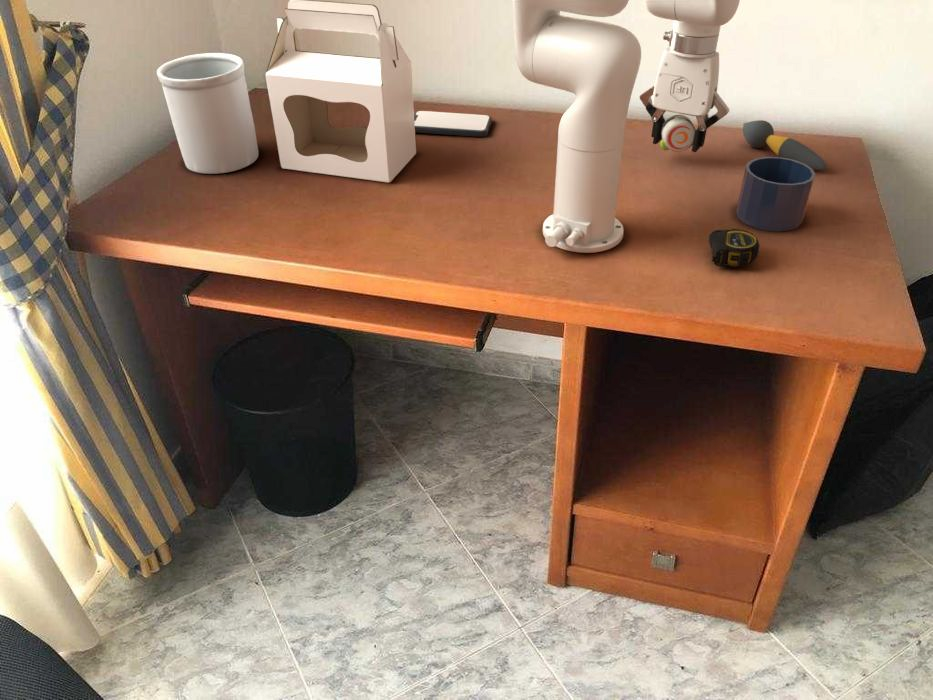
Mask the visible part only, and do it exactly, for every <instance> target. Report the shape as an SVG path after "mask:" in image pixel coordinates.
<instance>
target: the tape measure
mask: <svg viewBox="0 0 933 700" xmlns="http://www.w3.org/2000/svg"><path fill="white" fill-rule="evenodd" d="M708 243H709V247H710V249H711V258H712V259H711V262H712V263H713V265H715V266H716V267H724V266H729V267H733V268H741V267H746V266H749V265H751V264H753V263H754V262H755V261H756V259H758V255H759V252H760V242H759V240H758V238H757V237H756V235H755V234H753V233H752V232H749V231H747V230H744V229H738V228H730V229H729V228H728V229H719V230H713V231H711V232H710V234H709V236H708Z"/></svg>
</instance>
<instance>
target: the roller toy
mask: <svg viewBox="0 0 933 700" xmlns="http://www.w3.org/2000/svg"><path fill="white" fill-rule="evenodd" d="M696 130H697V128H696V127H695V126H694V123H693V122H692V120H691V118H689V117H688V116H687V115H684V114H674V115H671V116H670V117H668V118H666V119H665V122H664V123H663V125H662V128H661V136H662V140H660V142H659V146H660V148H661V150H663V151H669V150H670V151H671V152H675V153H680V152H685V151H687V150H688V149H690V148H692V146H693V140H694V135H695V131H696Z"/></svg>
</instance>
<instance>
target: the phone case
mask: <svg viewBox="0 0 933 700" xmlns="http://www.w3.org/2000/svg"><path fill="white" fill-rule="evenodd" d="M492 118H493V117H492V116H491V115H488V114H477V113H476V114H475V113H461V112H449V111H448V112H445V111H431V110H417V111H414V123H415V134H417V133H418V134H432V135H444V136H445V135H447V136H459V137H475V138H484V137H487V136H488V135H489V134H488V133H489V132H490V128H491V125H492V120H493V119H492Z"/></svg>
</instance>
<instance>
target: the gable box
mask: <svg viewBox="0 0 933 700" xmlns="http://www.w3.org/2000/svg"><path fill="white" fill-rule="evenodd" d="M284 11H285V14H286V16H285V18H284V17H276V24H277V36H276V39H275V42H274V45H273V48H272V52H271V55H270V58H269V61H268V64H267V67H266V70H265V73H264V75H265V80H266V87H267V92H268V98H269V105H270V110H271V116H272V122H273V127H274V128H273V129H274V134H275V138H276V145H277V151H278V157H279V158H278V159H279V163H280V167H281V169H283V170H290V171H297V172H298V171H299V172H305V173H313V174H320V175H327V176H335V177H342V178H350V179H357V180H364V181H371V182H378V183H379V182H380V183H386V184H390V183H391V182H392V181H393V180H394V179H395V177H396V176H398V174H400V172H401V171H402V170H404V167H406V165H407V164H408V163H409V162H410V161H411V160H412V159H413V158H414V156H415V155H417V145H416V143H417V141H416V132H415V123H414V113H415V107H414V105H415V104H414V91H413V89H414V88H413V73H412V72H413V71H412V60H411V59H410V58H409V56H408V54H407V53H406V51H405V49H404V48H403V46H402V45H401V43H400V41H399V40H398V38H397V37H396V33H395V32H396V31H395V26H391V25H388V23H386V22H384V23H383V22H382V19H381V14H380V11H379V8H378V7H377V5H375V4H369V3H358V2H357V3H356V2H343V1H328V0H289V1H288V2H287V8H284ZM303 29H304V30H316V31H327V32H337V33H339V32H341V33H351V34H352V33H353V34H361V35H362V34H364V35H368V36H374V37H376V39H377V41H378V47H379V48H378V51H379V52H378V54H379V56H367V55H357V54H356V55H355V54H345V53H334V52H324V51H323V52H322V51H313V50H312V51H311V50H302V49H301V44H300V41H299V36H298V32H297V30H303ZM327 102H329V103H355V104H359V105H362V106H364V107H365V109H367V110H368V112H369V122H368V125H367V127H365V126H351V127H343V128H342V127H341V128H339V127H335V126H332V125H331V123H330V122H329V118H328V116H329V115H328V114H329V108H328V104H327Z"/></svg>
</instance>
